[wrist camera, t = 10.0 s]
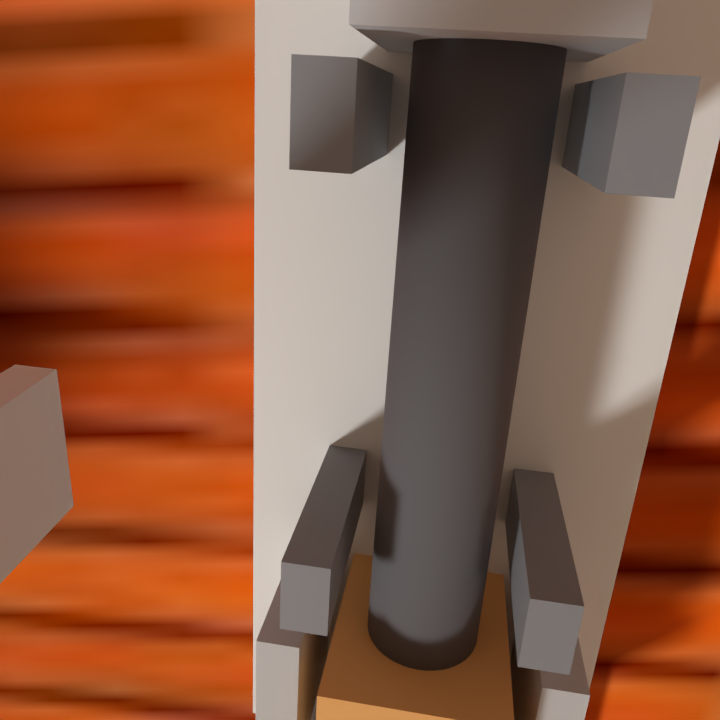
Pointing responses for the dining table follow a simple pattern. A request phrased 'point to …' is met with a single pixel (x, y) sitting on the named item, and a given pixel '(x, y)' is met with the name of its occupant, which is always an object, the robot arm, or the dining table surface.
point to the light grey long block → (539, 347)
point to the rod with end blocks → (456, 345)
